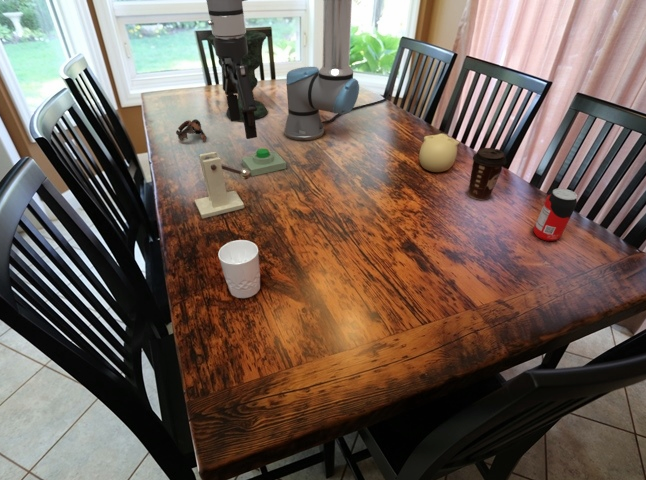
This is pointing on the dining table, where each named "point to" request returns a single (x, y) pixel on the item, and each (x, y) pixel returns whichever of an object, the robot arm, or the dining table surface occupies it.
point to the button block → (264, 163)
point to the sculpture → (438, 152)
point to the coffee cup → (485, 172)
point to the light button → (262, 153)
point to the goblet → (250, 66)
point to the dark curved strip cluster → (190, 129)
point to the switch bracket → (216, 189)
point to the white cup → (241, 267)
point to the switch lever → (235, 170)
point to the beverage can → (555, 214)
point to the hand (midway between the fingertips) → (243, 128)
